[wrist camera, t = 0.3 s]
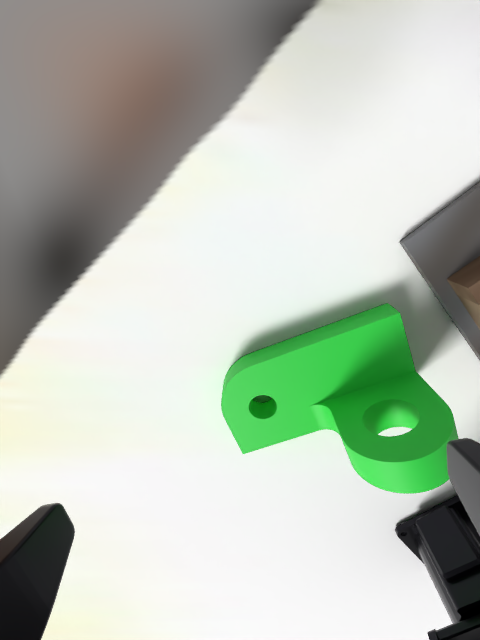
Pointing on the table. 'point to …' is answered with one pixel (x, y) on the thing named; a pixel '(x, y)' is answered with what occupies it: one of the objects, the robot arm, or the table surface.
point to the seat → (453, 261)
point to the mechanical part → (346, 399)
